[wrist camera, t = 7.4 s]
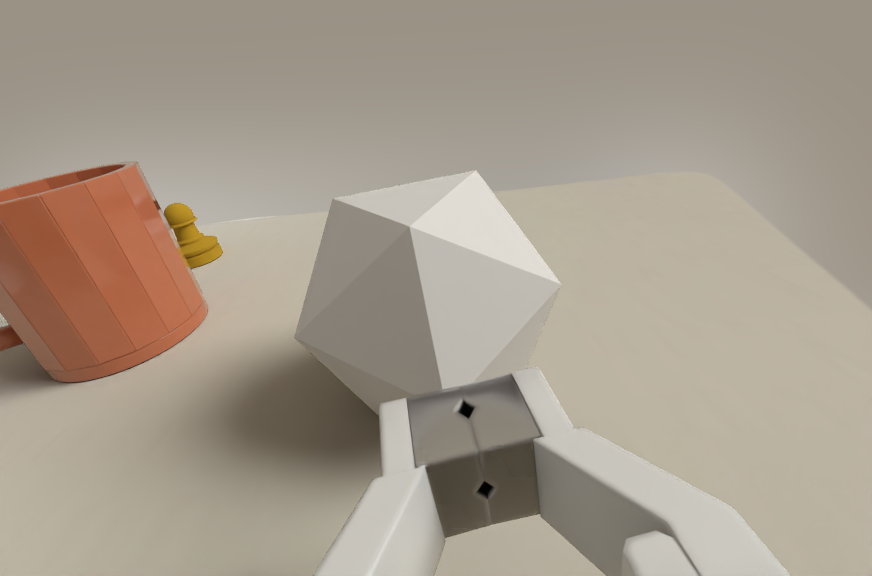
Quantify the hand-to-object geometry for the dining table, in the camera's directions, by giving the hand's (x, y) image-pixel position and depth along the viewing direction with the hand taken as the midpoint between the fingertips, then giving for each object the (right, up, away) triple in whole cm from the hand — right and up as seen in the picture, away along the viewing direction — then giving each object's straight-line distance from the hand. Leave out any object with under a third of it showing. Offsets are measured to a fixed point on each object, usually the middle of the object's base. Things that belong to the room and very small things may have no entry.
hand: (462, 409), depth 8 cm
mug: (-21, -1, +18) cm, 27 cm away
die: (0, -2, +10) cm, 10 cm away
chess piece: (-21, +5, +29) cm, 36 cm away
